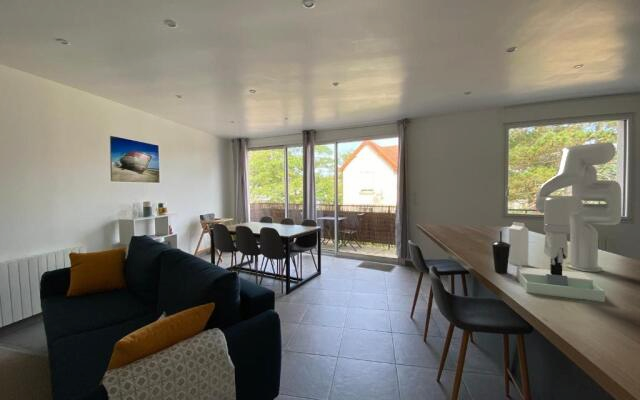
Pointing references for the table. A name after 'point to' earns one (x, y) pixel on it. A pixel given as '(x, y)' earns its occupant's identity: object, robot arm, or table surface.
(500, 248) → the drinking cup
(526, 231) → the milk
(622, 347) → the table surface
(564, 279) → the slate tile
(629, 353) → the table surface
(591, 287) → the box
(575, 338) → the table surface
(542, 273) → the cream rectangular block
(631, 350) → the table surface
